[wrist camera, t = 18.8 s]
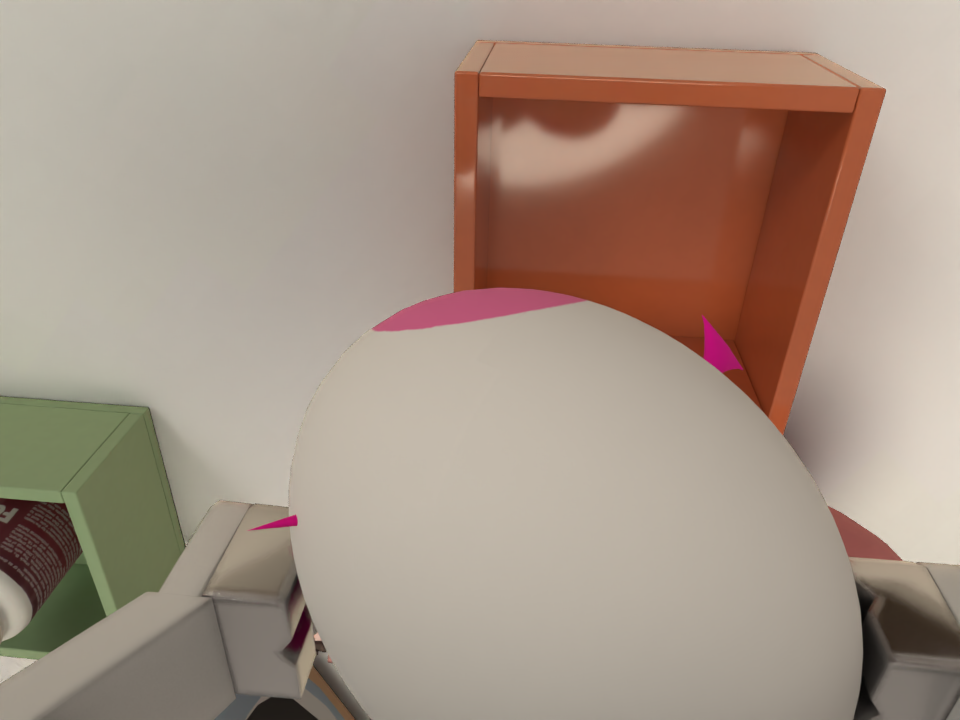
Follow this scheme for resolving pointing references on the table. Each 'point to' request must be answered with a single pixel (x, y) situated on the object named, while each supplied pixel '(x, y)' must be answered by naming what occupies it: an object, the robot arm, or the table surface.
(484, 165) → the terracotta bin
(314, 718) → the alarm clock
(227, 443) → the table surface
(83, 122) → the table surface
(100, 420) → the sage bin
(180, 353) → the table surface
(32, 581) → the pill bottle
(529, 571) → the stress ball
